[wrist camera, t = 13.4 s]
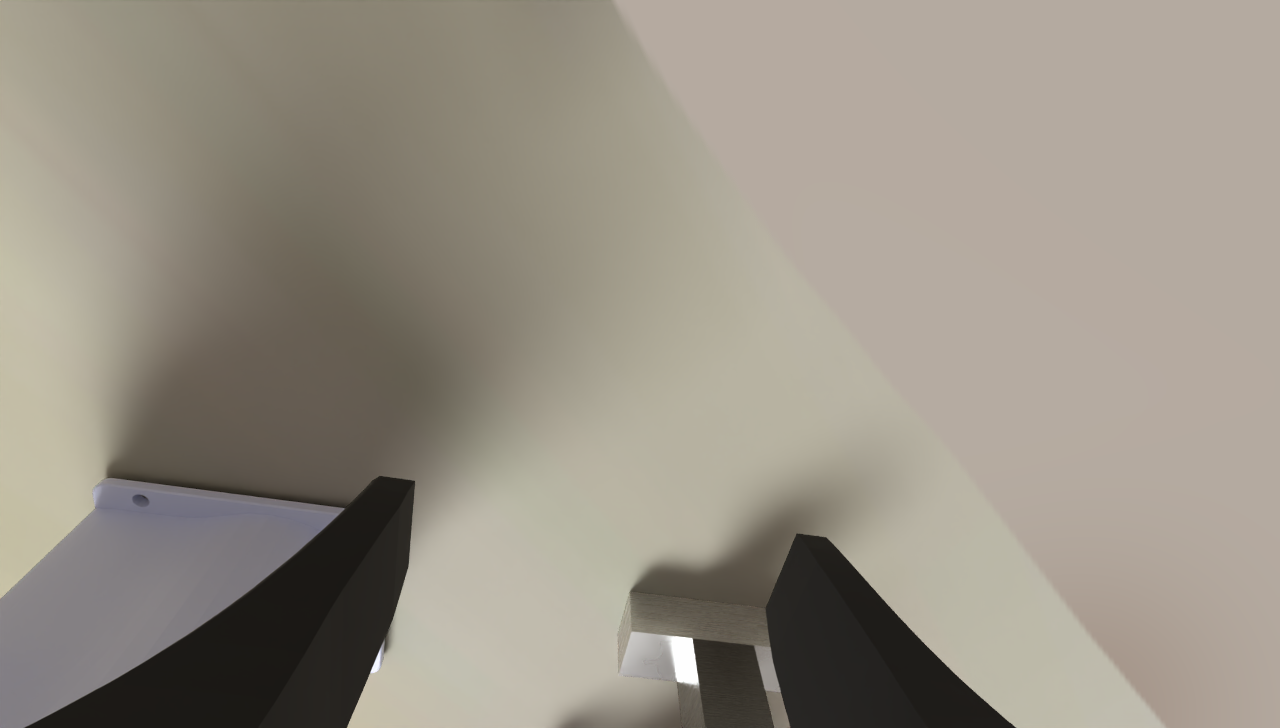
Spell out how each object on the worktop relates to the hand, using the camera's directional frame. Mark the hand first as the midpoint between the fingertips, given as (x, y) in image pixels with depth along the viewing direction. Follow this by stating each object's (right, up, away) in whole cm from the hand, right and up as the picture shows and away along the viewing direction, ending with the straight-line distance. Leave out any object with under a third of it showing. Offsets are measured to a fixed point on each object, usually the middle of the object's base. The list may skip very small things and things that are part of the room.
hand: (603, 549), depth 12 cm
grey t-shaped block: (+3, -7, +15) cm, 17 cm away
